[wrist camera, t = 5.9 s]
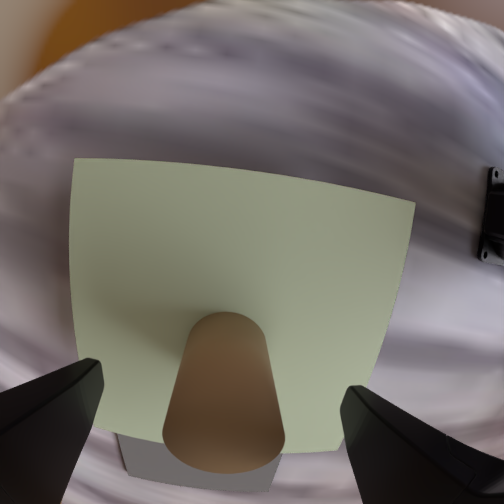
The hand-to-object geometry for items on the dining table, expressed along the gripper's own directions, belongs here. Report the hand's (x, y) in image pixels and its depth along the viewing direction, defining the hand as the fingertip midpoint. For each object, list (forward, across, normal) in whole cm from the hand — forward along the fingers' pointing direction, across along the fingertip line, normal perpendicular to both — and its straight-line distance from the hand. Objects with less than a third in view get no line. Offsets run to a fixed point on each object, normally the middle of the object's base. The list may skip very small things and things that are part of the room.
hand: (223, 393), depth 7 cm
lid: (+4, 0, 0) cm, 4 cm away
